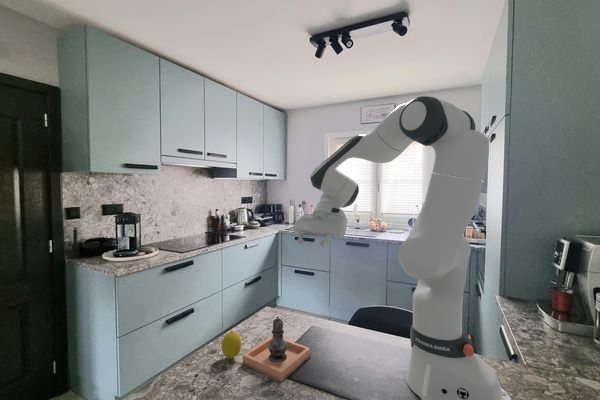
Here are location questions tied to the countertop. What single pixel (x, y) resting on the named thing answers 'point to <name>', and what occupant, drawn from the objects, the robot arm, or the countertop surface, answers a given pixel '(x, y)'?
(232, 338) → the lemon
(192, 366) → the countertop surface
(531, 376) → the countertop surface
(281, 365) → the tray
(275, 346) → the dark grey chess piece
